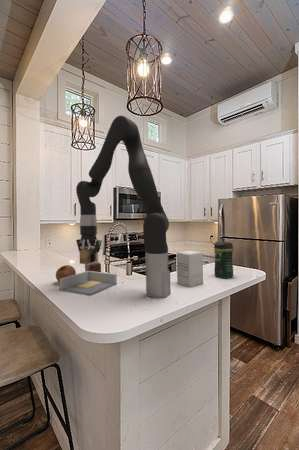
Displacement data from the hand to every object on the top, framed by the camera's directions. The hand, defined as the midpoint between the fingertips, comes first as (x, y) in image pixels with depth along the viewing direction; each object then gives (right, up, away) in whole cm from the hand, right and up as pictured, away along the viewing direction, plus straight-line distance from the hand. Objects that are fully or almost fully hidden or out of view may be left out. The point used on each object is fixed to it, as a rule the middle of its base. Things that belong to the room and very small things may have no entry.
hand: (89, 261), depth 109 cm
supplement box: (+47, -11, +2) cm, 49 cm away
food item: (-3, -12, +20) cm, 23 cm away
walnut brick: (0, -1, 0) cm, 1 cm away
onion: (-13, -12, +7) cm, 19 cm away
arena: (0, -12, -1) cm, 12 cm away
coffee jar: (+67, -10, +14) cm, 70 cm away
